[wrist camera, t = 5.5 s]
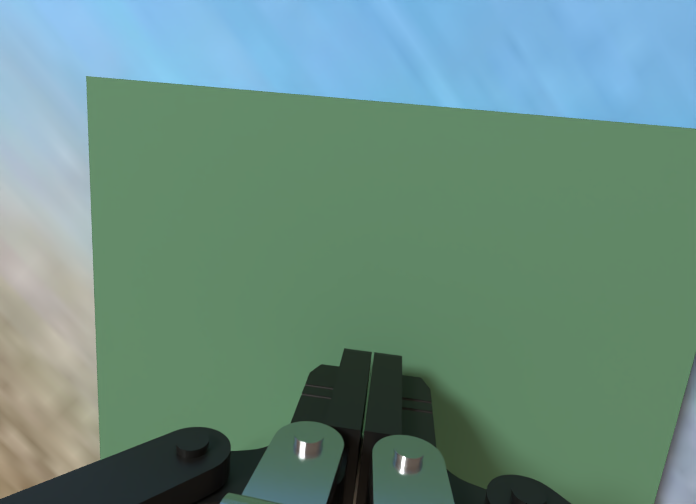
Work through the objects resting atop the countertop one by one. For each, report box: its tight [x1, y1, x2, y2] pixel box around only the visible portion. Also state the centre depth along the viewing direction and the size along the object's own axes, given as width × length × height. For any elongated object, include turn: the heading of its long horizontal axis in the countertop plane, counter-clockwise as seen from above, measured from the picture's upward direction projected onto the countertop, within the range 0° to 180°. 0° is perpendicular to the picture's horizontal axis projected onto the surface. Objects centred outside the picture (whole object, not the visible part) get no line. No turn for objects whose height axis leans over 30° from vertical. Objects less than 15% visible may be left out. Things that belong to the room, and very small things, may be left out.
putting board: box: [86, 76, 696, 504], centre depth 15 cm, size 16×18×2 cm
